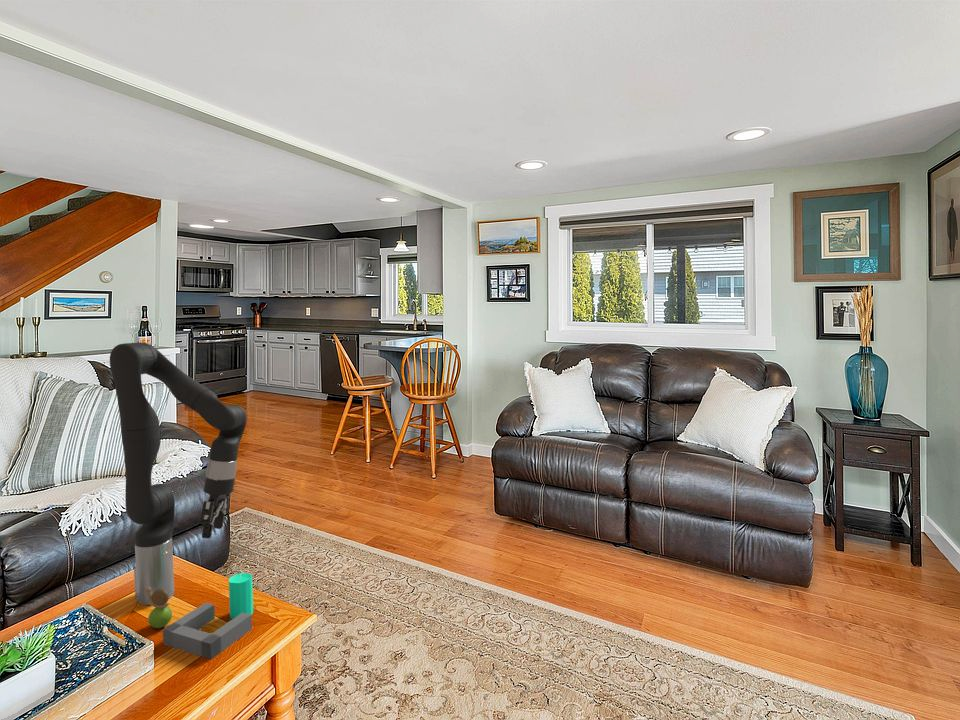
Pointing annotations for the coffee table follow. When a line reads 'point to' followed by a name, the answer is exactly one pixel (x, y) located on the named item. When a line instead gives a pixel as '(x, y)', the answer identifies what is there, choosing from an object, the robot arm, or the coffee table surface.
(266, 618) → the coffee table surface
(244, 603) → the candle
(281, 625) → the coffee table surface
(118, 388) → the robot arm
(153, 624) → the snail figurine
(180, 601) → the coffee table surface
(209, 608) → the grey u-shaped frame
